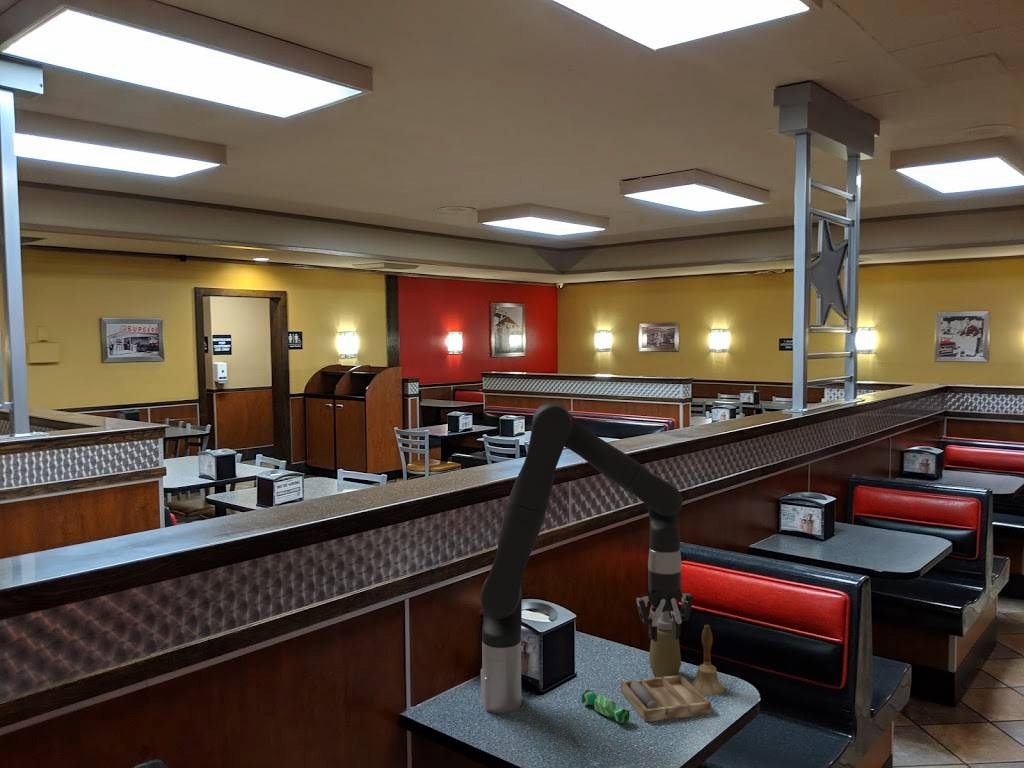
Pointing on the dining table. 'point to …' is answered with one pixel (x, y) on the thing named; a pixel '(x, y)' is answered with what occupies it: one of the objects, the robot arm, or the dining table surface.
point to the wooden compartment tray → (667, 698)
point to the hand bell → (707, 669)
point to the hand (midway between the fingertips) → (664, 639)
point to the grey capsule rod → (643, 695)
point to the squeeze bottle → (665, 649)
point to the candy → (605, 706)
